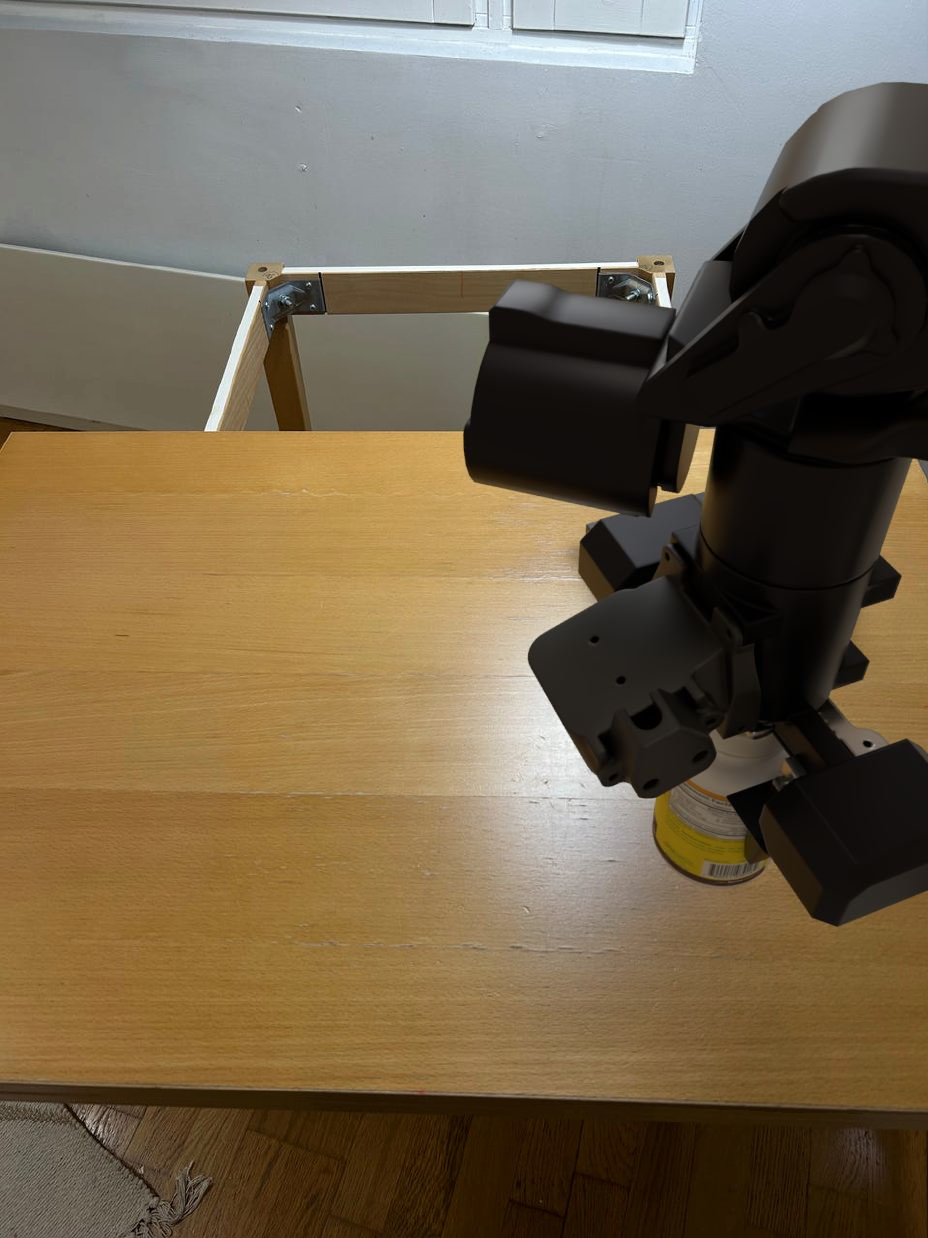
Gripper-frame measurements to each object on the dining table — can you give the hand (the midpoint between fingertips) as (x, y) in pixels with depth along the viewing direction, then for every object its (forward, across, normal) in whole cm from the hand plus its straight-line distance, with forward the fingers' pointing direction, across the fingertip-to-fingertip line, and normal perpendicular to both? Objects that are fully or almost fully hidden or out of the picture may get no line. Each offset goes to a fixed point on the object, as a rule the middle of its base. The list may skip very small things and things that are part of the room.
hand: (720, 802), depth 43 cm
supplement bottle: (+3, 0, 0) cm, 3 cm away
